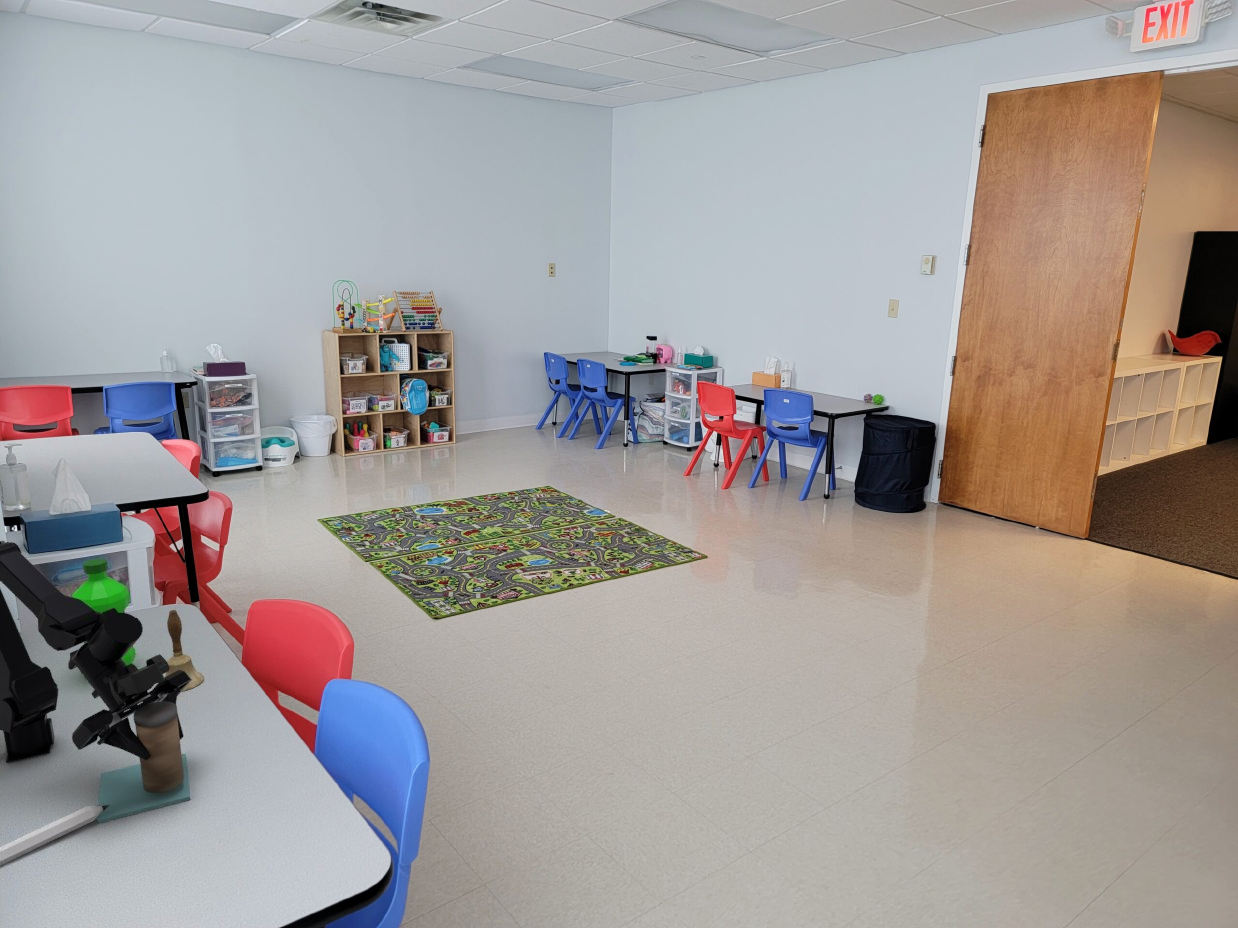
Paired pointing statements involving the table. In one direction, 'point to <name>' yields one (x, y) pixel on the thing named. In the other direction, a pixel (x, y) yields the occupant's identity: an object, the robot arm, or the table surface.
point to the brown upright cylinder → (160, 746)
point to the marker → (49, 833)
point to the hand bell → (180, 653)
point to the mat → (135, 793)
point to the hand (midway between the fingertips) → (165, 748)
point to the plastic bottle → (104, 594)
